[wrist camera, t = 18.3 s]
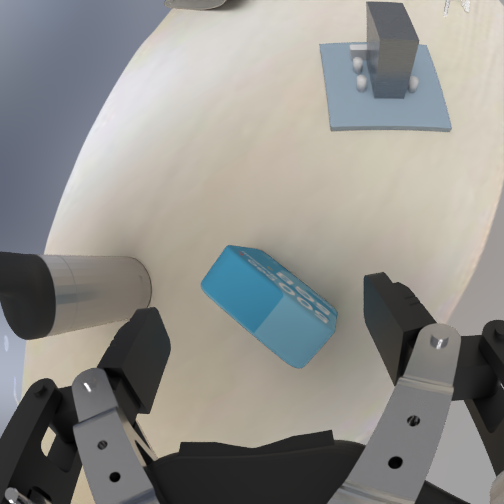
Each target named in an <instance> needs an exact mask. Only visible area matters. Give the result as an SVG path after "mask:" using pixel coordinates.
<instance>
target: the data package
mask: <svg viewBox="0 0 504 504" xmlns="http://www.w3.org/2000/svg"><path fill="white" fill-rule="evenodd" d="M201 288H202V290H203V291H204V293H205V294H206V295H207V296H208V297H209V298H211V299H212V300H213V301H214V302H215V303H216V304H217V305H218V306H220V307H221V308H222V309H223V310H224V311H225V312H226V313H228V314H229V315H230V316H231V317H232V318H233V319H234V320H236V321H237V322H238V323H239V324H240V325H241V326H243V327H244V328H245V329H246V330H247V331H248V332H250V333H251V334H252V335H253V336H254V337H256V338H257V339H258V340H259V341H260V342H262V343H263V344H264V345H265V346H266V347H268V348H269V349H270V350H271V351H272V352H274V353H275V354H276V355H277V356H279V357H280V358H281V359H282V360H284V361H285V362H286V363H287V364H289V365H291V366H293V367H295V368H303V367H304V366H305V365H306V364H307V363H308V362H309V361H310V360H311V359H312V357H313V356H314V355H315V354H316V353H317V352H318V351H319V350H320V348H321V347H322V346H323V345H324V344H325V343H326V342H327V340H328V339H329V338H330V337H331V336H332V335H333V333H334V332H335V326H336V319H337V311H336V310H335V309H334V308H333V307H332V306H331V305H330V304H329V303H328V302H327V301H325V300H324V299H323V298H322V297H320V296H319V295H318V294H317V293H315V292H314V291H313V290H312V289H310V288H309V287H308V286H306V285H305V284H304V283H303V282H301V281H300V280H299V279H298V278H296V277H295V276H294V275H293V274H291V273H290V272H289V271H288V270H286V269H285V268H284V267H283V266H281V265H280V264H279V263H277V262H276V261H275V260H274V259H272V258H271V257H270V256H269V255H267V254H266V253H264V252H263V251H261V250H259V249H253V248H246V247H239V246H232V245H228V246H227V247H226V248H225V249H224V251H223V252H222V253H221V255H220V256H219V258H218V259H217V261H216V262H215V263H214V265H213V266H212V268H211V269H210V270H209V272H208V273H207V275H206V276H205V278H204V279H203V280H202V282H201Z"/></svg>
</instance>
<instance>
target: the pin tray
mask: <svg viewBox="0 0 504 504" xmlns="http://www.w3.org/2000/svg"><path fill="white" fill-rule="evenodd" d="M319 45H320V51H321V57H322V63H323V70H324V77H325V84H326V91H327V99H328V108H329V116H330V126H331V131H343V130H423V131H442V132H450V130H451V129H452V127H451V122H450V118H449V114H448V110H447V106H446V103H445V99H444V96H443V92H442V89H441V86H440V82H439V79H438V76H437V73H436V70H435V67H434V64H433V61H432V59H431V56H430V53H429V51H428V48H427V45H419V44H418V49H417V53H416V57H415V61H414V65H413V68H412V72H411V76H410V80H409V83H408V87H407V90H406V94H405V97H404V99H374V95H373V90H372V85H371V81H370V76H369V72H368V68H367V64H366V56H367V42H352V43H329V44H319Z"/></svg>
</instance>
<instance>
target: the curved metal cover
mask: <svg viewBox="0 0 504 504" xmlns="http://www.w3.org/2000/svg"><path fill="white" fill-rule="evenodd" d="M225 1H226V0H165V2H164V5H165V6H166V7H169V8H177V9H189V10H205V9H211V8H215V7H218V6H221V5H222V4H223V3H224V2H225Z"/></svg>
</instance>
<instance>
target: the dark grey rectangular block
mask: <svg viewBox="0 0 504 504" xmlns="http://www.w3.org/2000/svg"><path fill="white" fill-rule="evenodd" d="M366 7H367V56H366V64H367V68H368V72H369V76H370V81H371V85H372V90H373V95H374V99H404V97H405V94H406V90H407V87H408V83H409V80H410V76H411V72H412V68H413V65H414V61H415V57H416V53H417V49H418V44H419V39H418V36H417V34H416V32H415V29H414V27H413V25H412V22H411V20H410V18H409V16H408V14H407V11H406V9H405V7H404V5H403V3H394V2H366Z"/></svg>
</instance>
